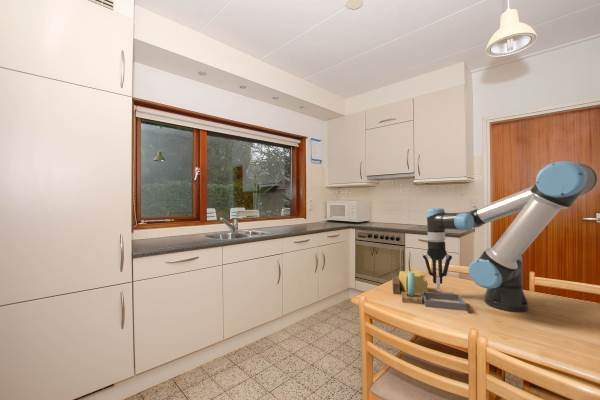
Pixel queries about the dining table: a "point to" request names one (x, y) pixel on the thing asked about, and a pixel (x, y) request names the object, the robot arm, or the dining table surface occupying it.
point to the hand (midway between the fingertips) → (437, 290)
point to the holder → (411, 298)
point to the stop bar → (396, 285)
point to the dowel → (411, 284)
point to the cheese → (419, 281)
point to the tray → (444, 305)
